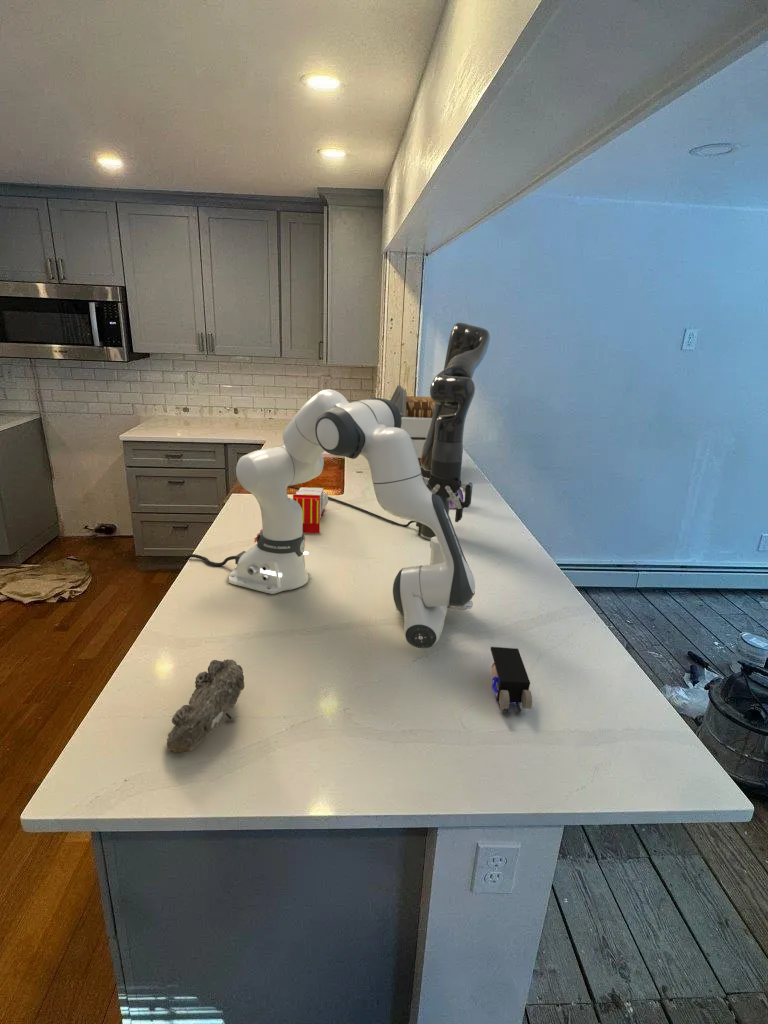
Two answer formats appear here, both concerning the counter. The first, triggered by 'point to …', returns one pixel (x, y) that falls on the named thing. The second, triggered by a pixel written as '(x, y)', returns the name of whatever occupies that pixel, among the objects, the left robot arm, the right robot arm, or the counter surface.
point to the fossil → (206, 705)
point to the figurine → (452, 504)
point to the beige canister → (436, 557)
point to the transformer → (414, 416)
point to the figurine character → (510, 678)
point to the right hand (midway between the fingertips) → (441, 518)
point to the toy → (311, 507)
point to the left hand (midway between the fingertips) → (436, 579)
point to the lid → (435, 544)
